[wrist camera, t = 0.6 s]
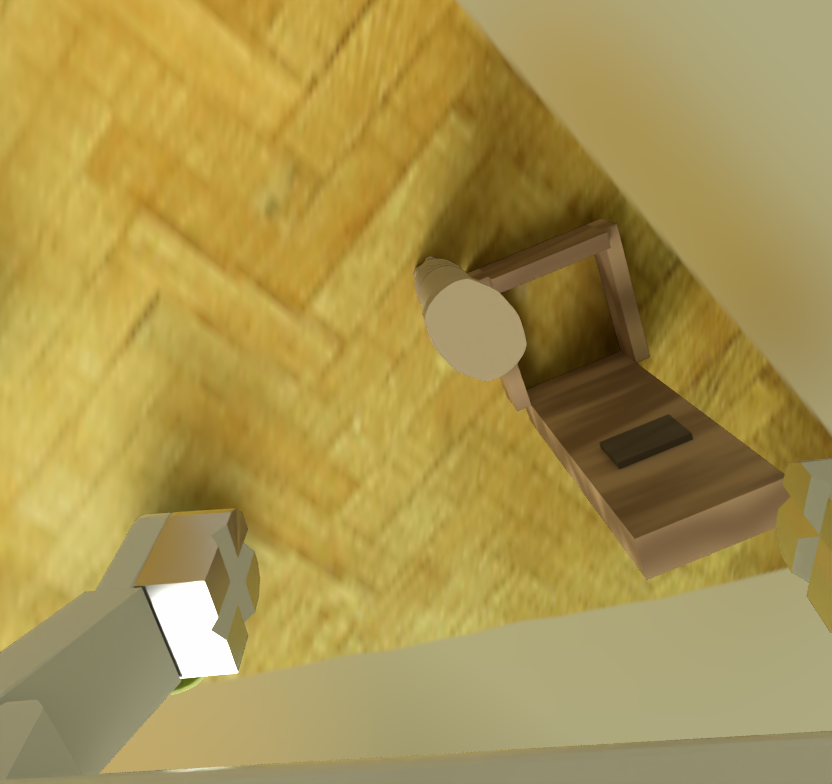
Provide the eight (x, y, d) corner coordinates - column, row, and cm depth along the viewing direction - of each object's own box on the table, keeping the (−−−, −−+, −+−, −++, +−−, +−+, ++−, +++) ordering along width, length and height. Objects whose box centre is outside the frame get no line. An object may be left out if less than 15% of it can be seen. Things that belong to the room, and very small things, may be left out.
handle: (437, 326, 55) (480, 396, 41) (381, 268, 53) (408, 321, 39) (483, 284, 54) (542, 341, 40) (428, 223, 52) (472, 261, 38)
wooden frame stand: (464, 274, 54) (558, 369, 33) (601, 218, 54) (778, 280, 33) (517, 427, 59) (626, 587, 39) (641, 376, 59) (815, 511, 39)
